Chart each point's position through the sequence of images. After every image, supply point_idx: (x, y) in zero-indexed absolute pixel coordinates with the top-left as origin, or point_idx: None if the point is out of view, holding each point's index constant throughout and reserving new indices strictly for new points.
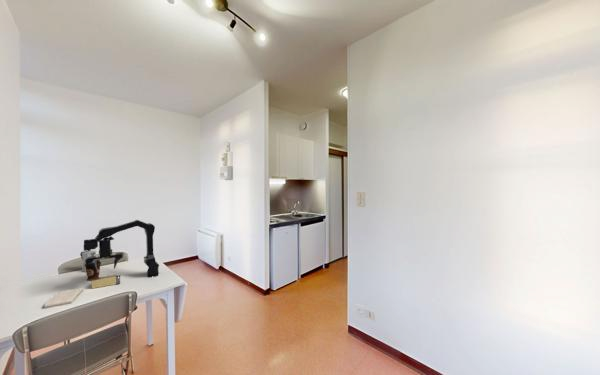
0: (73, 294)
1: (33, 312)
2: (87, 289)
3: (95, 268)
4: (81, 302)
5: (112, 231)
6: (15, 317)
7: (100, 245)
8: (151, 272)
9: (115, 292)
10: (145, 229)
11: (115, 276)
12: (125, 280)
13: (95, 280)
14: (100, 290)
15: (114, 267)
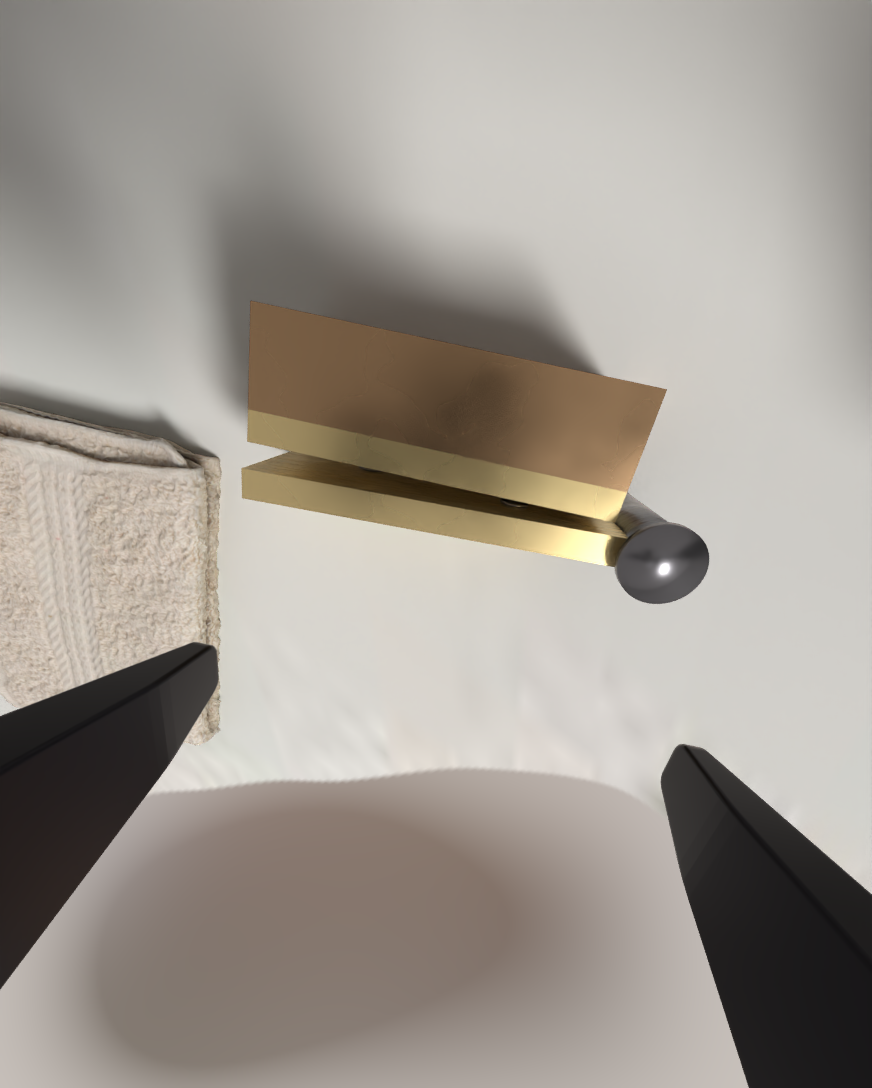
0: (159, 647)
1: (4, 707)
2: (256, 447)
3: (89, 851)
4: (289, 759)
5: None
6: None
7: None
8: None
9: (544, 747)
10: None
11: (616, 497)
12: (728, 422)
13: (295, 505)
14: (407, 593)
15: (691, 855)
